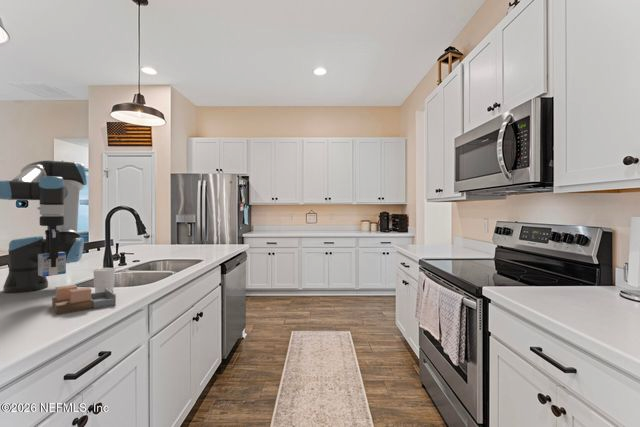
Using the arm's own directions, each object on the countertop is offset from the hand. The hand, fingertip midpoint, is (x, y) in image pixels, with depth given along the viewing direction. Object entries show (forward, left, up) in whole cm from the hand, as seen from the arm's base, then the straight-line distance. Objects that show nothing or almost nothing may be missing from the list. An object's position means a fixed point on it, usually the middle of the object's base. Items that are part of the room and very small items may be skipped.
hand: (52, 273), depth 132 cm
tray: (+18, +13, -10) cm, 24 cm away
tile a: (+14, +3, -7) cm, 16 cm away
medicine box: (0, 0, -1) cm, 1 cm away
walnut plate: (+18, +4, -10) cm, 21 cm away
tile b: (+22, +6, -7) cm, 24 cm away
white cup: (0, +18, -11) cm, 21 cm away
